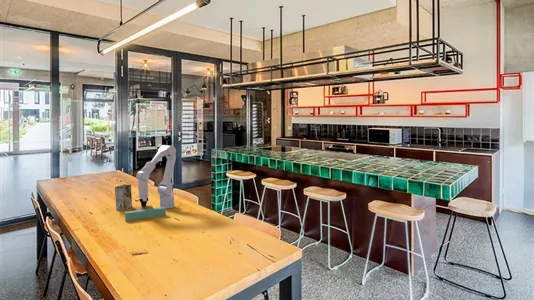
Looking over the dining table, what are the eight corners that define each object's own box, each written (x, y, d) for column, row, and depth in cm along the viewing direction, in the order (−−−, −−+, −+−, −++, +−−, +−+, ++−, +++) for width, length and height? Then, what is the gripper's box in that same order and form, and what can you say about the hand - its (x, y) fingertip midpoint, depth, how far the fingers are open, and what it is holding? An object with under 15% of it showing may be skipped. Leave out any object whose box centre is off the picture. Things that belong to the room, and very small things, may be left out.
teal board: (165, 214, 203) (164, 206, 203) (165, 215, 201) (165, 208, 200) (125, 219, 192) (124, 212, 192) (125, 221, 189) (125, 213, 189)
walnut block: (152, 212, 207) (151, 205, 206) (153, 216, 200) (153, 208, 199) (135, 214, 202) (135, 207, 202) (137, 218, 195) (136, 210, 195)
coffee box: (124, 206, 221) (123, 184, 220) (132, 206, 220) (131, 184, 218) (115, 209, 212) (114, 186, 211) (123, 210, 211) (122, 187, 209)
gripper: (135, 187, 208) (136, 206, 209) (137, 192, 195) (138, 213, 197) (146, 186, 211) (147, 205, 213) (149, 190, 198) (150, 211, 200)
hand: (143, 209), depth 205 cm, fingers closed, pressing on walnut block
